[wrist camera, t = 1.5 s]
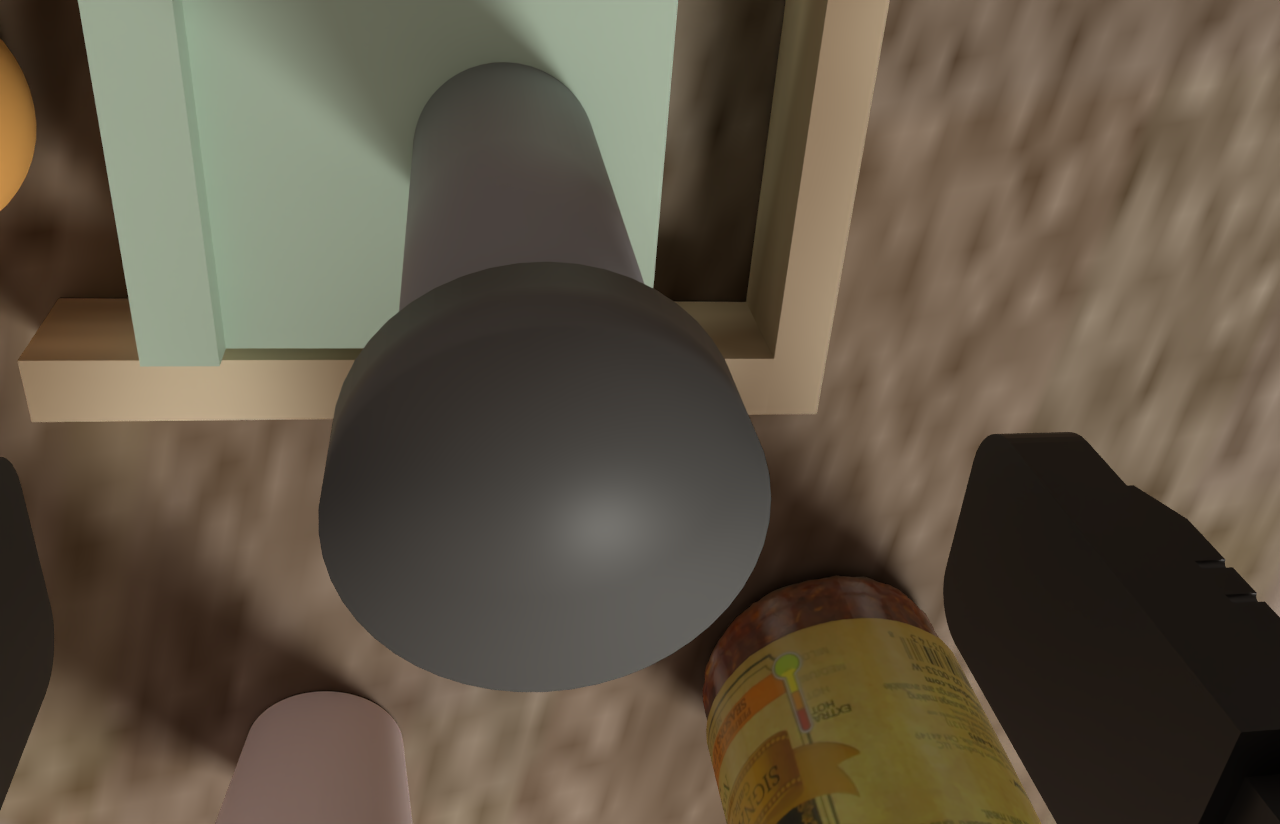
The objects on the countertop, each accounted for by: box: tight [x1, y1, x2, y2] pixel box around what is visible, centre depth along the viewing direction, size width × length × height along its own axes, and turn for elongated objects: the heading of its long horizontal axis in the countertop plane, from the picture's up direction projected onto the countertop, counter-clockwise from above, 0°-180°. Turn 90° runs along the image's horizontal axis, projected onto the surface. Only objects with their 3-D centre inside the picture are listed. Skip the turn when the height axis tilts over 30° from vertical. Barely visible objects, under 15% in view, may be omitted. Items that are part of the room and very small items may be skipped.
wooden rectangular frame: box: [18, 0, 890, 422], centre depth 19 cm, size 14×10×2 cm
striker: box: [78, 0, 771, 692], centre depth 15 cm, size 8×7×13 cm
